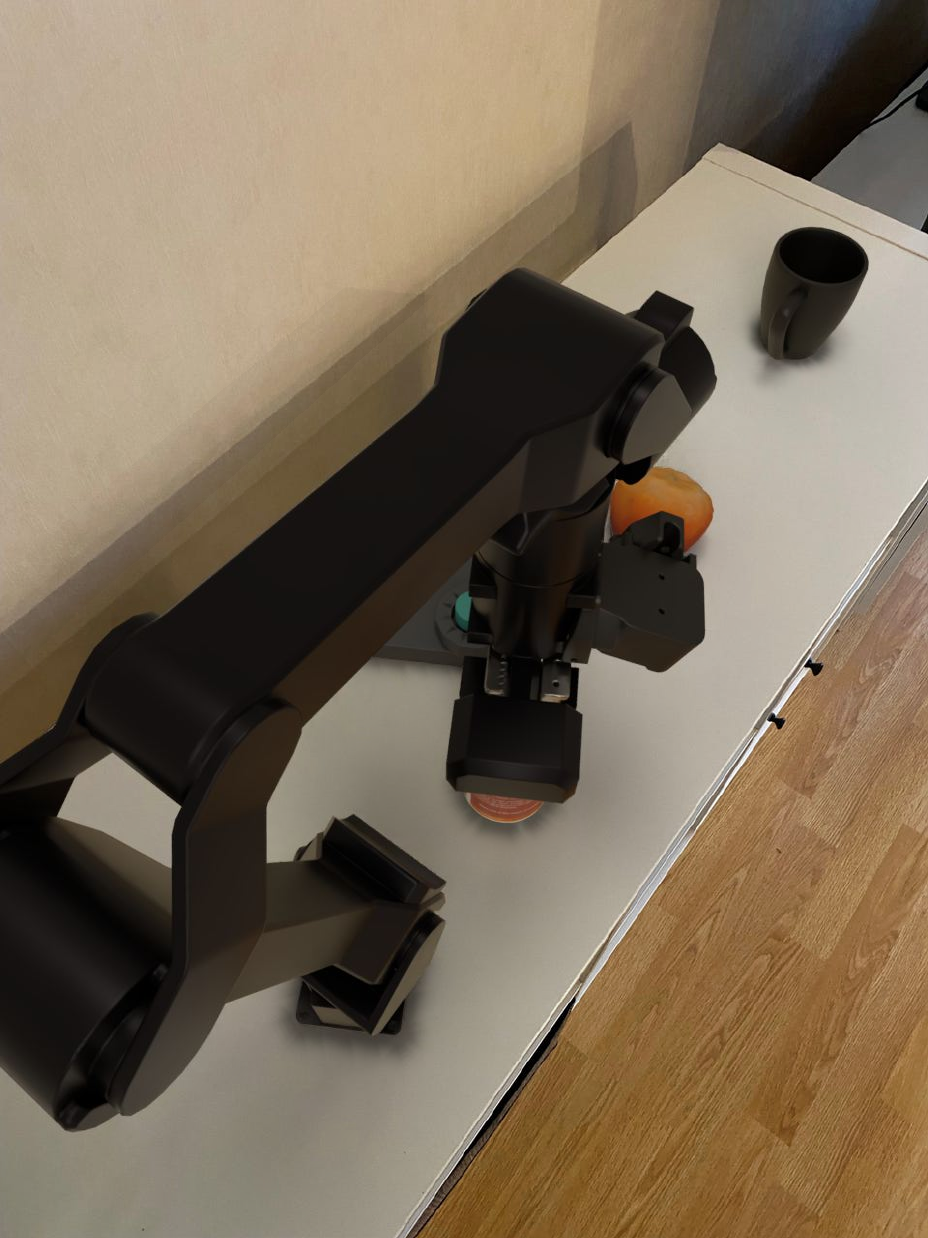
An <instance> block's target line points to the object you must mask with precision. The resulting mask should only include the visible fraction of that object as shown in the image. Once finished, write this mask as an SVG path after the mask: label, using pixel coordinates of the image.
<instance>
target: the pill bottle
mask: <svg viewBox="0 0 928 1238" xmlns="http://www.w3.org/2000/svg"><path fill="white" fill-rule="evenodd" d="M462 793H463V795H464V798H465V800H466V801H467V803H468V805H469V806H470V807H471V809H473V810H474V811H475V812H476V814H479V815H480V816H482V817H483V818H484V819H487V820H488V821H489V820H490V821H492V822H496V823H500V824H512V823H519V822H521V821H524V820H527V819H528V818H530V817H532V816H533V815H534V814H535V813H536V812H537V811H539V810H540V809H541V807H542V806H543V805H544V803H545V802H543V801H534V800H525V799H517V798H508V797H499V796H490V795H482V794H473V793H464V792H462Z"/></svg>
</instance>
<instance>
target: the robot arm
mask: <svg viewBox="0 0 928 1238" xmlns="http://www.w3.org/2000/svg"><path fill="white" fill-rule="evenodd" d="M694 312H695V307H693V306H692V305H690V304H688V303H686V302H684V301H681V300H679V299H678V298H675V297H673V296H671V295H669V294H666V293H664V292H662V291H659V290H657V289H655V291H654V292H653V293H652V294H651V295H650V296H649V297H648V298H647V299H646V300H645V301H644V302H643V304H641V306H640V307H639V309H635V310H632V311H629V312H626V313H623V312H621V311H619V310H617V309H614V308H612V307H611V306H608V305H606V304H604V303H601V302H600V301H597V300H595V299H593V298H591V297H589V296H587V295H585V294H583V293H580V292H579V291H577V290H574V289H572V288H570V287H568V286H566V285H564V284H562V283H560V282H558V281H556V280H553V279H551V278H549V277H547V276H545V275H544V274H541V273H540V272H537V271H534V270H532V269H529V268H527V267H524V266H523V267H516V268H514V269H512V270H510V271H508V272H506V273H504V274H502V275H500V277H498V278H497V279H496V280H494V281H493V283H491V284H490V285H489V286H488V287H487V288H485V289H483V290H482V291H480V292H479V293H477V294H476V295H475V296H473V297H472V298H471V300H470V301H469V303H468V305H467V306H466V308H465V310H464V311H463V313H462V314H461V315H459V317H458V318H457V319H456V320H455V321H453V323H452V324H451V325H450V326H449V327H448V328H446V330H444V332H443V334H442V336H441V339H440V345H439V351H438V357H437V363H436V369H435V375H434V380H433V385H432V386H431V387H430V388H429V389H428V390H427V392H425V394H424V395H423V396H422V397H421V398H420V399H418V401H417V402H416V403H415V404H414V405H412V407H411V408H410V409H409V410H407V411H406V412H405V413H404V414H403V415H401V416H400V417H399V418H398V419H397V420H395V421H394V422H393V423H391V425H389V426H388V427H387V428H386V429H385V430H383V431H382V432H381V433H380V434H378V436H376V437H375V438H373V440H371V441H370V442H369V443H368V444H366V445H365V446H364V447H362V448H361V449H360V450H359V451H358V452H357V453H356V454H355V455H353V456H352V457H351V458H350V459H349V460H346V462H345V463H344V464H342V465H341V466H340V467H339V468H337V469H336V470H335V471H334V472H333V473H332V474H330V475H329V476H328V477H327V478H325V479H324V480H323V481H322V482H321V483H319V484H318V485H317V486H316V487H314V488H313V489H312V490H311V491H310V492H309V493H306V495H305V496H304V497H303V498H301V499H300V500H298V502H296V503H295V504H294V505H293V506H292V507H290V508H289V509H288V510H287V511H285V512H284V513H282V515H281V516H279V517H278V518H277V519H276V520H275V521H273V523H271V524H269V526H267V527H266V528H265V529H263V531H261V532H260V533H259V534H258V535H257V536H255V537H254V538H253V539H252V540H251V541H249V542H248V543H247V544H246V545H244V546H243V547H242V548H241V549H240V550H238V551H237V552H236V553H234V554H233V555H232V556H231V557H230V558H229V559H227V560H226V561H224V563H223V564H222V565H220V566H219V567H218V568H217V569H216V570H214V571H213V572H212V573H211V574H210V575H208V576H207V577H206V578H205V579H203V580H202V581H201V582H200V583H199V584H198V585H196V586H195V587H194V588H192V590H190V591H189V592H188V593H187V594H185V595H184V596H183V597H181V598H180V599H179V600H178V601H177V602H176V603H174V604H173V605H172V606H171V607H170V608H169V609H167V610H166V611H165V612H163V613H160V612H156V611H148V612H143V613H140V614H136V615H132V616H131V617H129V618H128V619H125V621H123V622H122V623H120V624H118V625H116V626H115V627H113V628H112V629H111V630H110V631H108V633H107V634H106V635H105V636H104V637H102V639H101V640H100V641H99V642H98V643H97V644H96V645H95V646H94V647H93V648H92V650H91V652H90V653H89V655H88V657H87V658H86V660H85V662H84V663H83V665H82V666H81V668H80V670H79V671H78V674H77V676H76V678H75V681H74V683H73V684H72V687H71V689H70V691H69V694H68V696H67V698H66V701H65V702H64V705H63V706H62V709H61V711H60V713H59V716H58V718H57V720H56V722H55V724H54V725H53V726H52V728H50V729H49V730H48V731H46V732H44V733H43V734H41V735H40V736H39V737H37V738H36V739H34V740H33V741H32V742H30V743H28V744H27V745H26V746H24V747H22V748H21V749H20V750H18V751H16V752H15V753H14V754H12V755H11V756H10V757H8V758H6V759H5V760H3V761H2V762H1V763H0V1069H1V1070H3V1071H4V1073H6V1074H7V1075H8V1077H9V1078H11V1079H12V1080H13V1081H14V1082H15V1084H16V1085H18V1086H19V1088H21V1089H22V1090H23V1091H24V1092H25V1093H26V1094H27V1095H28V1096H29V1097H30V1098H31V1099H32V1100H33V1101H34V1102H35V1103H36V1104H37V1105H38V1106H39V1107H40V1108H41V1109H42V1110H43V1111H44V1112H45V1113H46V1114H47V1115H48V1116H49V1117H50V1118H51V1119H52V1120H53V1121H55V1123H56V1124H58V1125H59V1126H60V1127H61V1129H63V1131H65V1132H69V1133H78V1132H82V1131H83V1132H84V1131H88V1130H91V1129H95V1128H97V1127H98V1126H101V1125H102V1124H104V1123H106V1122H108V1121H110V1120H111V1119H113V1118H114V1117H116V1116H118V1115H120V1116H121V1117H133V1116H135V1114H138V1113H139V1112H142V1111H143V1110H144V1109H146V1108H148V1107H149V1106H150V1105H151V1104H152V1103H153V1102H154V1101H156V1100H157V1099H158V1098H159V1097H160V1096H161V1095H163V1094H164V1093H165V1092H166V1090H167V1089H169V1087H170V1086H171V1085H173V1083H174V1082H175V1081H176V1080H177V1079H178V1078H179V1077H180V1075H182V1073H183V1072H184V1071H185V1069H186V1068H187V1067H188V1066H189V1065H190V1063H191V1062H192V1061H193V1059H194V1058H195V1057H196V1056H197V1054H198V1053H199V1051H200V1050H201V1048H202V1047H203V1045H204V1043H205V1042H206V1041H207V1039H208V1037H209V1036H210V1033H211V1032H212V1030H213V1029H214V1026H215V1025H216V1023H217V1021H218V1019H219V1017H220V1016H221V1014H222V1011H223V1010H224V1008H225V1007H226V1005H227V1004H229V1003H231V1002H234V1001H237V1000H240V999H243V998H245V997H248V996H251V995H253V994H256V993H260V992H262V991H265V990H268V989H270V988H273V987H275V986H276V987H277V986H278V985H281V984H284V983H286V982H289V981H292V980H294V979H297V978H299V979H300V980H302V981H301V985H300V990H299V996H298V1001H297V1006H296V1011H295V1019H296V1021H297V1023H299V1025H303V1026H308V1027H317V1028H324V1029H325V1028H326V1029H333V1030H338V1031H339V1030H342V1031H346V1032H347V1031H348V1032H356V1033H362V1034H363V1033H364V1034H368V1035H369V1036H370V1037H374V1036H375V1035H377V1036H386V1037H387V1036H388V1037H397V1036H398V1035H399V1034H400V1033H401V1032H402V1028H403V1023H404V1022H403V1021H404V1016H405V1015H404V1014H405V1007H406V1002H407V1001H406V1000H407V996H408V995H409V993H410V992H411V990H412V989H413V988H414V986H415V985H416V984H417V982H418V981H419V980H420V978H421V977H422V975H423V974H424V973H425V972H426V970H427V969H428V967H429V966H430V965H431V962H432V959H433V957H434V955H435V953H436V949H437V947H438V945H439V942H440V940H441V937H442V934H443V932H444V930H445V926H446V924H447V920H445V918H443V917H441V916H440V915H439V914H437V913H436V912H439V911H440V910H441V909H443V907H444V905H445V904H446V894H445V893H444V892H442V891H443V888H444V887H445V886H446V884H447V883H448V882H447V881H446V880H445V879H443V878H442V877H440V875H438V874H436V872H434V871H432V870H431V869H430V868H428V867H427V866H425V865H424V864H423V863H422V862H420V861H419V860H417V859H416V858H414V857H413V856H412V855H411V854H409V853H408V852H406V851H405V850H404V849H402V848H401V847H399V846H398V845H397V844H395V842H393V841H392V840H390V839H389V838H388V837H386V836H385V835H383V834H382V833H381V832H379V831H378V830H376V828H374V827H373V826H371V825H370V824H368V823H367V822H366V821H365V820H363V819H362V818H360V817H359V816H357V815H356V814H355V813H353V814H350V815H349V816H347V817H346V818H337V817H336V816H334V815H332V816H331V818H330V820H329V822H328V823H327V825H326V827H325V828H324V830H323V831H320V832H317V834H316V835H315V836H314V837H313V838H312V839H311V840H310V841H309V842H308V843H307V844H306V845H301V846H299V848H298V849H297V850H296V851H295V854H294V856H293V859H292V860H288V861H287V860H286V861H273V862H268V825H267V824H268V816H267V815H268V803H269V802H270V800H271V799H272V796H273V795H274V792H275V791H276V788H277V786H278V784H279V782H280V781H281V779H282V777H283V775H284V773H285V772H286V769H287V768H288V766H289V763H290V761H291V760H292V758H293V755H294V753H295V751H296V749H297V746H298V744H299V741H300V739H301V737H302V733H303V728H304V727H305V726H306V725H307V724H308V723H309V722H310V721H311V719H313V718H314V717H315V716H316V715H317V714H318V713H319V712H320V711H321V710H322V709H323V708H324V707H325V706H326V704H328V703H329V701H331V699H333V697H335V696H336V694H337V693H339V691H341V689H342V688H343V687H344V686H345V685H346V684H347V683H348V682H349V681H350V680H351V679H353V677H354V676H355V675H356V674H358V672H359V671H360V670H361V669H362V668H363V667H364V666H365V665H366V664H367V663H368V662H369V661H370V660H371V659H372V658H373V657H375V656H374V655H375V654H376V653H377V652H378V651H379V650H380V649H381V648H382V647H383V646H384V645H385V644H386V643H387V642H388V641H389V640H390V639H391V638H392V637H393V636H394V635H395V633H396V632H397V631H398V630H399V629H400V628H401V627H402V626H403V625H404V624H405V623H406V622H407V621H408V620H409V619H410V618H411V617H412V616H413V615H414V614H415V613H416V612H417V611H418V610H419V609H420V608H421V607H422V606H423V605H424V604H425V603H426V602H427V601H428V600H429V599H430V598H431V597H432V596H433V595H434V594H435V593H436V592H437V591H438V590H439V589H440V588H441V587H442V586H443V585H444V584H445V583H446V582H447V581H448V580H449V579H450V578H451V577H452V576H453V575H454V574H455V573H456V572H457V571H458V570H459V569H460V568H461V567H462V566H463V565H464V564H465V563H466V562H467V561H468V560H469V559H470V558H471V557H472V556H473V557H472V565H471V572H470V579H469V592H468V597H471V605H470V613H469V620H468V628H467V642H466V643H472V644H481V645H489V649H488V657H487V658H485V657H475V656H466V655H465V656H464V661H463V666H462V669H461V677H460V683H459V684H460V685H459V693H458V698H456V699H454V701H453V707H452V715H451V716H452V717H451V723H450V730H449V737H448V744H447V752H446V758H445V759H446V761H445V780H446V782H447V783H448V784H449V785H450V787H452V789H453V790H454V792H456V793H463V792H464V793H473V794H482V795H490V796H499V797H508V798H517V799H525V800H534V801H543V802H544V803H552V804H560V805H562V804H564V803H565V802H567V801H568V800H569V799H570V798H572V797H573V796H574V795H576V791H577V788H578V785H579V782H580V776H581V775H580V773H581V757H582V756H581V755H582V738H583V737H582V736H583V735H582V734H583V720H584V719H583V718H584V717H583V716H584V714H583V713H582V712H580V711H579V710H577V709H578V698H579V697H578V696H579V682H580V681H579V680H580V667H578V666H577V667H576V666H572V664H581V665H588V664H589V660H590V657H591V652H592V650H597V651H598V652H599V653H601V654H602V655H603V654H604V655H606V656H609V657H612V658H615V659H619V660H622V661H625V662H628V663H631V664H635V665H638V666H641V667H644V668H645V669H646V670H648V671H651V672H654V673H658V674H659V673H664V672H667V671H668V670H669V669H671V668H672V667H673V666H674V665H676V664H677V663H678V662H679V661H681V660H682V659H683V658H685V657H686V656H687V655H688V654H689V653H691V652H692V651H693V650H694V649H695V648H697V647H698V646H699V645H701V644H702V643H703V642H704V640H705V638H706V637H705V636H706V610H705V609H706V608H705V581H704V578H703V575H702V573H700V571H699V570H698V560H697V559H698V558H697V555H696V554H694V553H691V552H690V553H688V555H685V554H684V553H685V552H684V547H685V536H684V519H683V518H682V517H679V516H676V515H673V514H670V513H668V512H665V511H659V512H657V513H654V514H652V515H650V516H647V517H645V518H642V519H640V520H637V521H635V522H633V523H631V524H630V525H629V526H628V527H627V528H626V530H625V531H624V532H623V533H622V534H616V535H611V536H610V537H609V539H608V542H606V541H605V533H606V524H607V520H608V515H609V512H610V503H611V498H612V494H613V490H614V487H615V485H616V482H617V481H618V480H622V481H624V482H625V483H626V484H628V485H634V484H636V483H638V482H639V481H640V480H641V479H642V478H643V477H645V476H646V474H647V473H648V472H649V471H650V470H651V468H652V467H655V465H656V464H657V463H658V461H659V460H660V459H661V458H662V456H664V454H665V453H666V452H667V451H668V449H669V448H670V447H671V446H672V444H674V442H675V441H676V440H677V438H678V437H679V436H680V435H681V434H682V432H683V431H684V430H685V429H686V428H687V426H688V425H689V424H690V422H692V421H693V419H694V418H695V417H696V415H698V414H699V412H700V411H701V409H702V408H703V407H704V406H705V405H706V403H707V402H708V401H709V400H710V399H711V397H712V395H713V393H714V391H715V390H716V387H717V382H718V376H717V374H716V368H715V364H714V360H713V357H712V354H711V352H710V351H709V348H708V347H707V345H706V343H705V342H704V340H703V339H702V338H701V336H700V335H699V334H698V333H697V331H695V330H694V328H692V327H691V323H692V319H693V315H694ZM111 754H114V756H116V757H117V758H119V759H120V760H121V761H122V762H124V763H125V764H126V765H127V766H129V767H131V769H133V770H134V771H135V772H137V773H138V774H139V775H140V776H141V777H142V778H144V779H145V780H146V781H148V782H149V783H150V784H151V785H153V786H154V787H156V788H157V789H158V790H159V791H160V792H162V793H163V794H164V795H165V796H167V797H168V798H169V799H171V800H172V801H173V802H174V803H175V804H177V805H178V806H180V808H179V810H178V812H177V814H176V817H175V818H174V821H173V826H172V831H171V867H169V866H168V865H165V864H163V863H162V862H160V861H158V860H156V859H155V858H153V857H150V856H148V855H147V854H145V853H143V852H142V851H139V850H137V849H136V848H134V847H132V846H131V845H129V844H126V843H125V842H123V841H121V840H119V839H117V838H115V837H114V836H112V835H110V834H108V833H106V832H105V831H102V830H101V829H98V828H94V827H91V826H87V825H83V824H81V823H78V822H74V821H72V820H68V819H65V818H62V817H59V816H58V815H59V813H60V811H61V809H62V807H63V805H64V803H65V801H66V798H67V796H68V794H69V792H70V790H71V788H72V786H73V783H74V781H75V779H76V778H77V777H78V776H79V775H81V774H82V773H83V772H85V771H87V770H88V769H90V768H91V767H93V766H94V765H96V764H97V763H100V762H101V761H102V760H104V759H105V758H106V757H108V756H109V755H111ZM464 793H463V794H464ZM303 1013H307V1017H306V1018H304V1019H303V1018H302V1017H301V1016H302V1014H303ZM393 1024H394V1025H395V1024H396V1026H397V1027H396V1029H395V1030H391V1028H390V1026H391V1025H393Z"/></svg>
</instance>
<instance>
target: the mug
mask: <svg viewBox="0 0 928 1238" xmlns="http://www.w3.org/2000/svg"><path fill="white" fill-rule="evenodd" d="M869 265H870V260H869V256H868V254H867V252H866V251H865V249H864V248H863V246H862V245H861V244H860V243H859V242H858V241H856V240H855V239H853V238H852V237H850V236H849V235H847V234H845V233H843V232H840V231H837V230H834V229H831V228H827V227H821V226H805V227H799V228H798V227H797V228H795V229H792V230H790V231H788V232H786V233H784V234H783V235H782V236H781V237H779V238H778V240H777V242H776V243H775V245H774V247H773V250H772V254H771V257H770V259H769V262H768V265H767V269H766V271H765V276H764V281H763V286H762V292H761V300H760V340H761V343H762V345H763V346H764V347H765V349H766V350H767V352H768V354H769V355H770V357H771V358H773V359H774V360H779V361H780V360H783V359H786V360H795V361H797V360H803V359H807V358H809V357H811V356H813V355H814V354H815V353H816V352H817V351H818V349H819V348H820V347H821V346H822V345H823V344H824V343H825V342H826V341H827V339H828V338H829V337H830V336H831V335H832V334H833V333H834V331H836V329H838V326H839V325H840V324H841V323H842V321H843V320H844V319H845V317H846V315H848V312H849V311H850V309H851V307H852V306H853V304H854V302H855V300H856V298H857V296H858V293H859V292H860V289H861V288H862V285H863V283H864V280H865V278H866V276H867V274H868V271H869V267H870V266H869Z"/></svg>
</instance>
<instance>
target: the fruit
mask: <svg viewBox="0 0 928 1238" xmlns="http://www.w3.org/2000/svg"><path fill="white" fill-rule="evenodd" d="M659 511H665V512H668V513H670V514H673V515H676V516H679V517H682V518H683V519H684V536H685V547H684V553H686V552H687V551H689V550H690V549H691V548H692V547H693V546H694V545H695V544H696V543H697V542H698V541H699V540H700V539H701V538H702V537H703V535H705V533H706V531H707V530H708V528H709V527H710V525H711V524H712V521H713V519H714V512H715V508H714V504H713V499H712V498H711V496H710V494H709V493H708V492H707V491H706V490H704V488H703V487H702V486H701V484H699V482H697V481H695V480H694V479H692V478H691V477H690V476H689V475H688V474H686V473H685V472H683V471H681V470H680V471H679V470H677V469H673V468H671V467H663V466H653V467H652V468H651V470H650V471H649V472H648V473H647V474H646V476H645V477H643V478H642V479H641V480H640V481H639V482H638V483H636V484H634V485H628V484H626V483H625V482H624V481H622V480H616V482H615V485H614V490H613V494H612V498H611V503H610V507H609V523H610V528H611V536H613V535H616V534H622V533H623V532H624V531H625V530H626V528H627V527H628V526H629V525H630V524H631V523H633V522H635V521H637V520H640V519H642V518H645V517H647V516H650V515H652V514H654V513H657V512H659Z"/></svg>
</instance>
